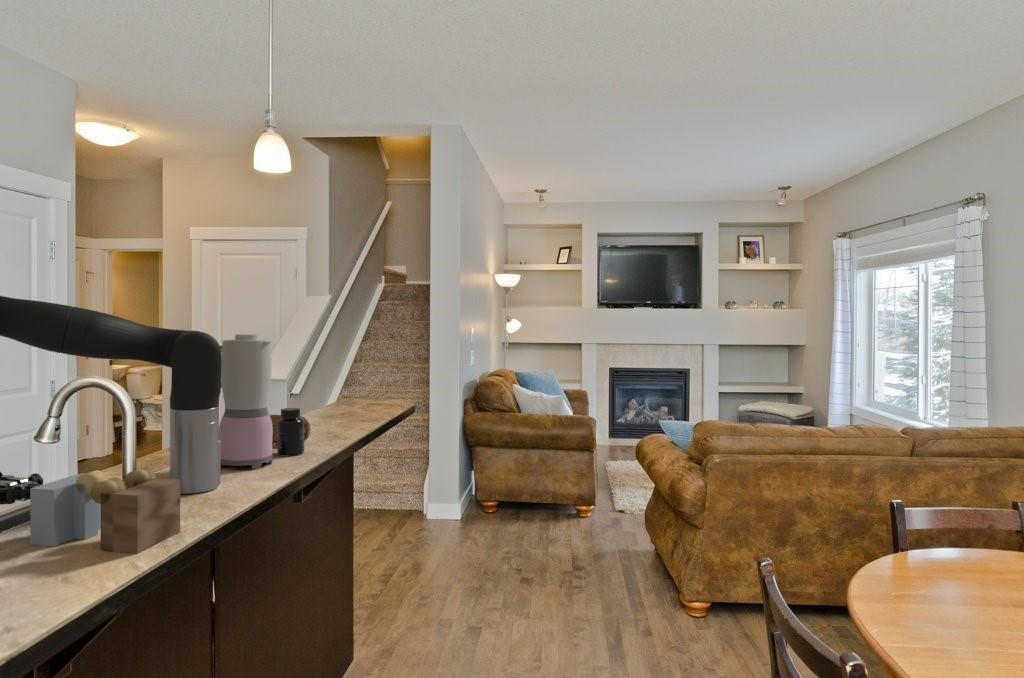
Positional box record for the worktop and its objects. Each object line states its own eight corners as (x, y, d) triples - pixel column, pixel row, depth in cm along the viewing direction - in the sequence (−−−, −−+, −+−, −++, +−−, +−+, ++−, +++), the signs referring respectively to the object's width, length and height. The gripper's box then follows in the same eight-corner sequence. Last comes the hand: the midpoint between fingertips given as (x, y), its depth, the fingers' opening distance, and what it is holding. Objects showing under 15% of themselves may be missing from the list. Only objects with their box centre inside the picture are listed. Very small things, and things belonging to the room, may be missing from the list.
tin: (257, 443, 182) (257, 414, 181) (263, 441, 185) (263, 412, 184) (306, 446, 179) (306, 416, 179) (311, 444, 182) (311, 414, 182)
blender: (282, 460, 161) (283, 334, 159) (255, 472, 149) (256, 335, 147) (226, 457, 163) (227, 333, 162) (194, 468, 151) (195, 334, 150)
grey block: (81, 524, 110) (81, 463, 110) (123, 527, 109) (123, 465, 109) (30, 544, 100) (30, 477, 100) (75, 548, 99) (75, 480, 99)
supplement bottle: (293, 449, 174) (294, 406, 173) (309, 453, 170) (309, 408, 169) (271, 453, 168) (271, 408, 168) (286, 457, 164) (287, 411, 164)
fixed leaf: (137, 528, 109) (137, 466, 108) (180, 531, 107) (180, 469, 107) (90, 549, 99) (90, 481, 98) (137, 553, 98) (137, 484, 97)
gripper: (-82, 474, 100) (14, 480, 98) (-3, 456, 113) (84, 461, 111) (-81, 521, 100) (15, 528, 98) (-2, 497, 114) (84, 503, 111)
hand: (51, 492), depth 104 cm, fingers closed
